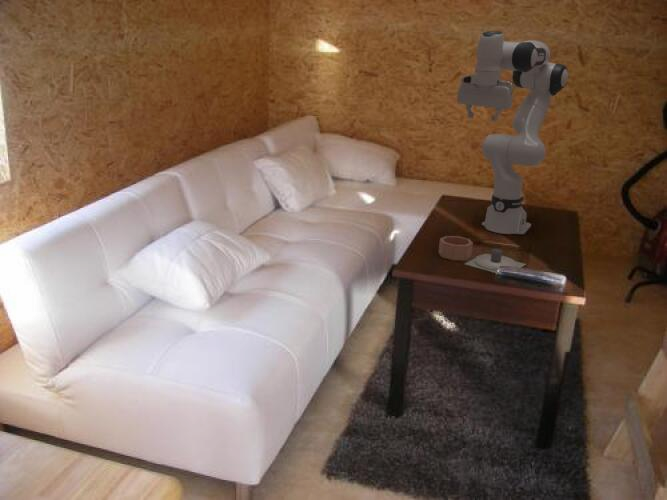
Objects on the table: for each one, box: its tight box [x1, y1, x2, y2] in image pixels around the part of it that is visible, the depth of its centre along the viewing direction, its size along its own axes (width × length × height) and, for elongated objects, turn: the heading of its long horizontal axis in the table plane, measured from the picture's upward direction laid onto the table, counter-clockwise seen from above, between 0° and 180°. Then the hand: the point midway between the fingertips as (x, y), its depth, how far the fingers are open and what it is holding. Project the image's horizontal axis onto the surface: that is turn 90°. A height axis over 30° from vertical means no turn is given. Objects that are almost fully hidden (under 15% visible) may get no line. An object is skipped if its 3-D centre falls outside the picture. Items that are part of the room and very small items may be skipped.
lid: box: [474, 248, 517, 271], centre depth 226 cm, size 14×14×5 cm
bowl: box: [437, 235, 474, 261], centre depth 233 cm, size 11×11×6 cm
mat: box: [464, 253, 527, 274], centre depth 227 cm, size 16×16×1 cm
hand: (482, 119), depth 232 cm, fingers open, 8 cm apart
